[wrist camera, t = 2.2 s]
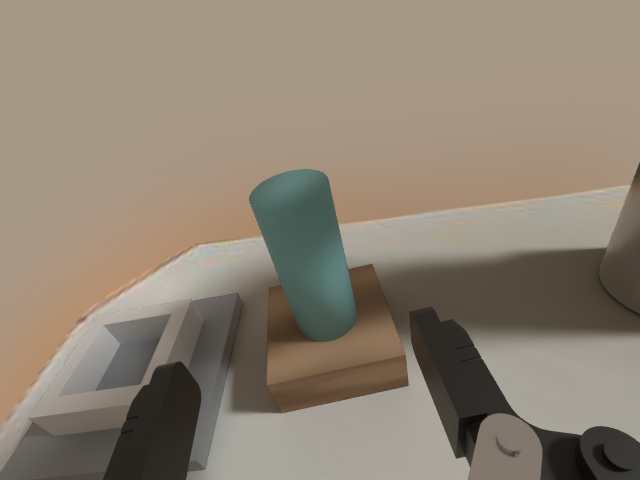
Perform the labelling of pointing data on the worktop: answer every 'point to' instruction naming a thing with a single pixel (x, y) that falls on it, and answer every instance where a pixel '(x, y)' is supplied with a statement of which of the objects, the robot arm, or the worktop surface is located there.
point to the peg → (307, 251)
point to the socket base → (125, 385)
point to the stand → (334, 351)
